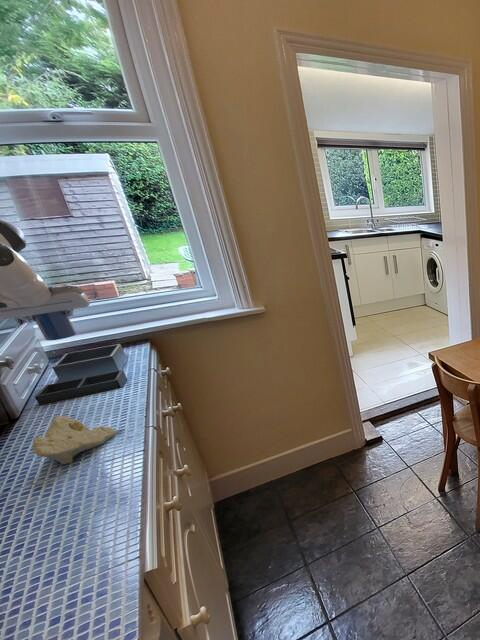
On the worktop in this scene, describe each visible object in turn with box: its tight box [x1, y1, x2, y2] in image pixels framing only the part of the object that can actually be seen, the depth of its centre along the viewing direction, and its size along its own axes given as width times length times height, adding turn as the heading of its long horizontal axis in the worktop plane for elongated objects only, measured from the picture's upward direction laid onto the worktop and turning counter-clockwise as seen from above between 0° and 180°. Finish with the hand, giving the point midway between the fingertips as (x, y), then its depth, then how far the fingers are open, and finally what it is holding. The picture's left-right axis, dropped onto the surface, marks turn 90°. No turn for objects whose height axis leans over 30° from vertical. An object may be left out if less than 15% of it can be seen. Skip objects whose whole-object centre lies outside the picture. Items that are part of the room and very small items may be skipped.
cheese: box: [32, 415, 117, 465], centre depth 92 cm, size 15×7×15 cm
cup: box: [32, 311, 77, 342], centre depth 123 cm, size 7×7×11 cm
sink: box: [51, 343, 128, 382], centre depth 138 cm, size 14×14×6 cm
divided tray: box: [34, 369, 128, 407], centre depth 123 cm, size 18×9×4 cm, turn 123°
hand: (51, 317), depth 123 cm, fingers closed on cup, 7 cm apart
